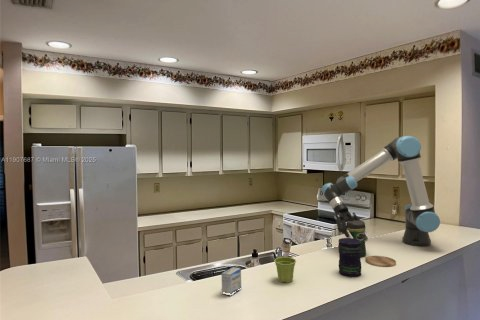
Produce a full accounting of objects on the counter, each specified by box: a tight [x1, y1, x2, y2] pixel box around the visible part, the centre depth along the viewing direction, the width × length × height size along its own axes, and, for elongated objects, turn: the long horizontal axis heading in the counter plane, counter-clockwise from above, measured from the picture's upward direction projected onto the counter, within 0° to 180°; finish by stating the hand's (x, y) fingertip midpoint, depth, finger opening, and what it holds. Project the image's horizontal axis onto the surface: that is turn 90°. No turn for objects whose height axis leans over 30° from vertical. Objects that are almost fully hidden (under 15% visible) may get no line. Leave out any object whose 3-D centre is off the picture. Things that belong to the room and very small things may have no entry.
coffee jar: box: [346, 219, 367, 258], centre depth 171 cm, size 10×8×19 cm
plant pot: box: [273, 256, 297, 283], centre depth 139 cm, size 9×9×9 cm
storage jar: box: [337, 237, 362, 278], centre depth 146 cm, size 10×10×15 cm
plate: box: [364, 255, 397, 268], centre depth 160 cm, size 14×14×1 cm
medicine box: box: [221, 266, 242, 294], centre depth 128 cm, size 8×4×9 cm, turn 148°
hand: (360, 241), depth 169 cm, fingers closed on coffee jar, 9 cm apart
